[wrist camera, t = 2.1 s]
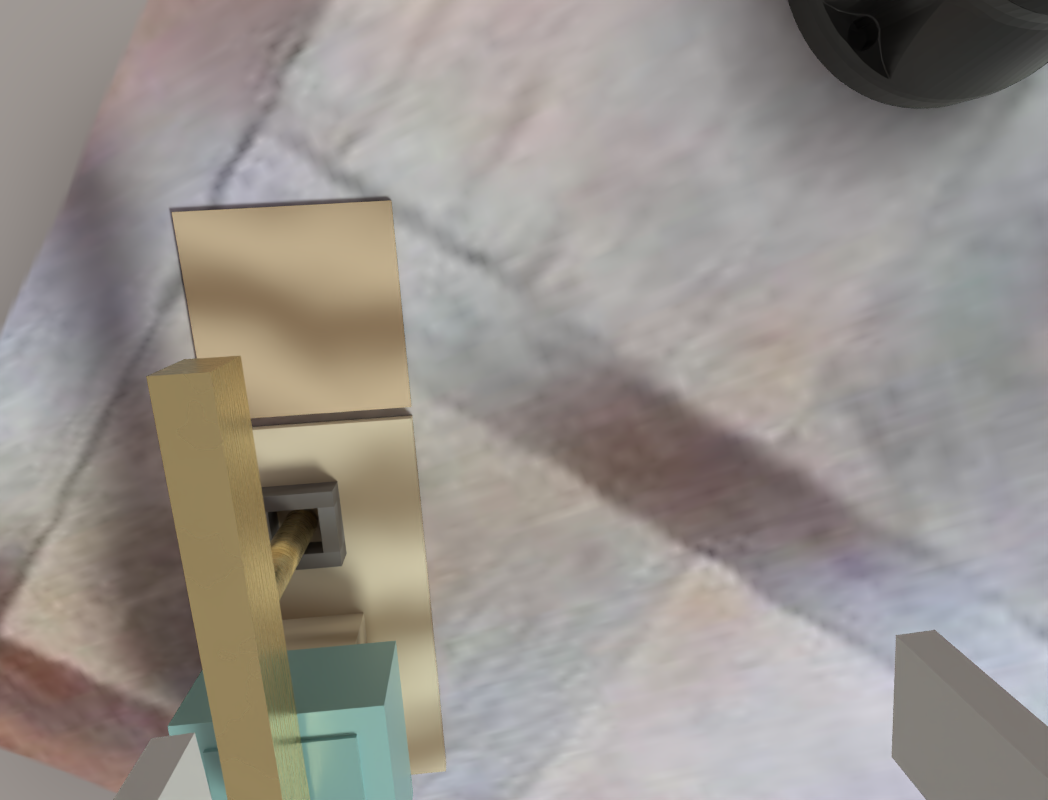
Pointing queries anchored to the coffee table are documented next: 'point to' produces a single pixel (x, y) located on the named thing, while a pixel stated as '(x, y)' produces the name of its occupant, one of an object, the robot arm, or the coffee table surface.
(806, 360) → the coffee table surface
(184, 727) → the cover
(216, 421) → the t key
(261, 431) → the housing
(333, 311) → the pad
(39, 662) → the coffee table surface
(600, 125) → the coffee table surface
